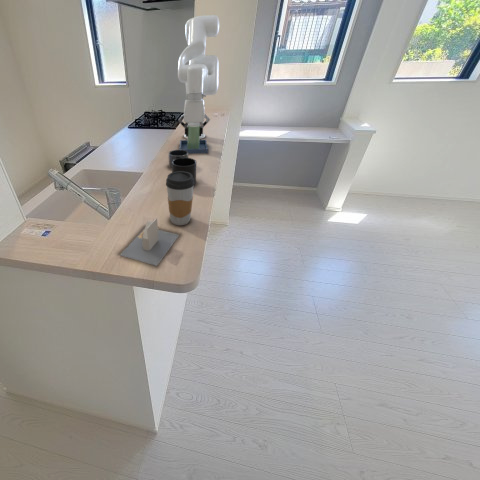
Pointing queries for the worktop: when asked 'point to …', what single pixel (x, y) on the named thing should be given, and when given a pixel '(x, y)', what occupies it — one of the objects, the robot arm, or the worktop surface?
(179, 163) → the mug
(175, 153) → the dark gray cup
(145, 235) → the architectural model
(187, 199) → the coffee cup
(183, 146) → the tray
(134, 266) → the worktop surface
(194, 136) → the green cup
